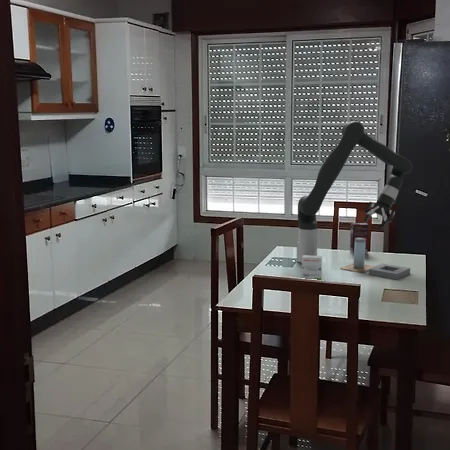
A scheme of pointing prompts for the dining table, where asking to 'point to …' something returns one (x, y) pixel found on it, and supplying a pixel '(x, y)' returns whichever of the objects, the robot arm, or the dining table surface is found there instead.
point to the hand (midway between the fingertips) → (373, 225)
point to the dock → (389, 271)
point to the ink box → (312, 267)
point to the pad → (351, 268)
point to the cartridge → (359, 253)
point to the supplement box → (358, 235)
